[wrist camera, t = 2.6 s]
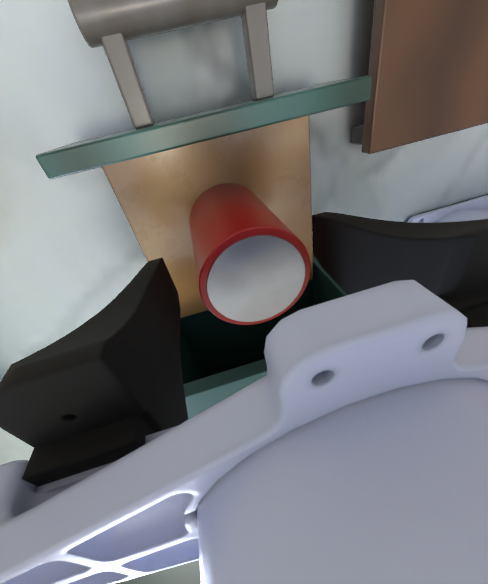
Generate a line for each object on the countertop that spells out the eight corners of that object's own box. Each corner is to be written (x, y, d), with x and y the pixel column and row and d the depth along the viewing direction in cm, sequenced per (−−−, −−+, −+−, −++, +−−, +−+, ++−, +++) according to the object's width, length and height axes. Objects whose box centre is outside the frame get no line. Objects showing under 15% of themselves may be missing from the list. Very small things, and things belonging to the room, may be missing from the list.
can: (258, 173, 14) (310, 212, 9) (268, 246, 17) (313, 309, 12) (178, 194, 14) (181, 248, 9) (202, 265, 17) (216, 339, 11)
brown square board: (544, -125, 11) (623, -175, 9) (472, 116, 17) (512, 116, 15) (357, -89, 11) (398, -134, 9) (345, 149, 16) (369, 154, 14)
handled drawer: (319, -38, 11) (390, -111, 7) (320, 271, 20) (351, 305, 17) (12, 25, 10) (-78, -23, 6) (164, 317, 19) (162, 362, 16)
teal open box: (316, 253, 20) (395, 330, 13) (318, 349, 28) (368, 432, 20) (156, 299, 19) (147, 409, 12) (201, 386, 27) (212, 486, 20)
